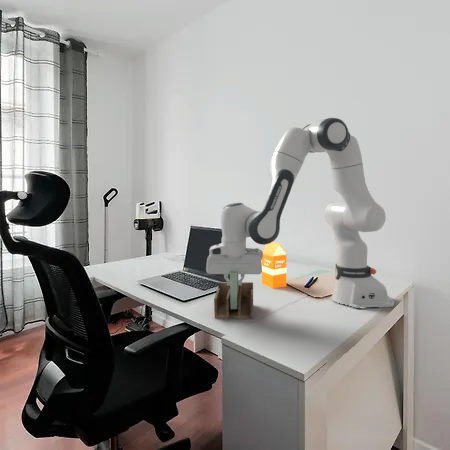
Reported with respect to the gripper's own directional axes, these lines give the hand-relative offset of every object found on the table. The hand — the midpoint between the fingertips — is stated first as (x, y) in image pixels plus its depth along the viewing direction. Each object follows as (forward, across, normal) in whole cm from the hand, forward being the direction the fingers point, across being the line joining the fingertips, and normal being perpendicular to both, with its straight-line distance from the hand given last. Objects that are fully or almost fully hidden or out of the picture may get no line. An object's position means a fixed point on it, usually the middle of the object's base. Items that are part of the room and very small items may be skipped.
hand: (234, 285), depth 120 cm
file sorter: (+10, 0, 0) cm, 10 cm away
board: (+7, 0, 0) cm, 7 cm away
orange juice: (+10, -16, -32) cm, 38 cm away
